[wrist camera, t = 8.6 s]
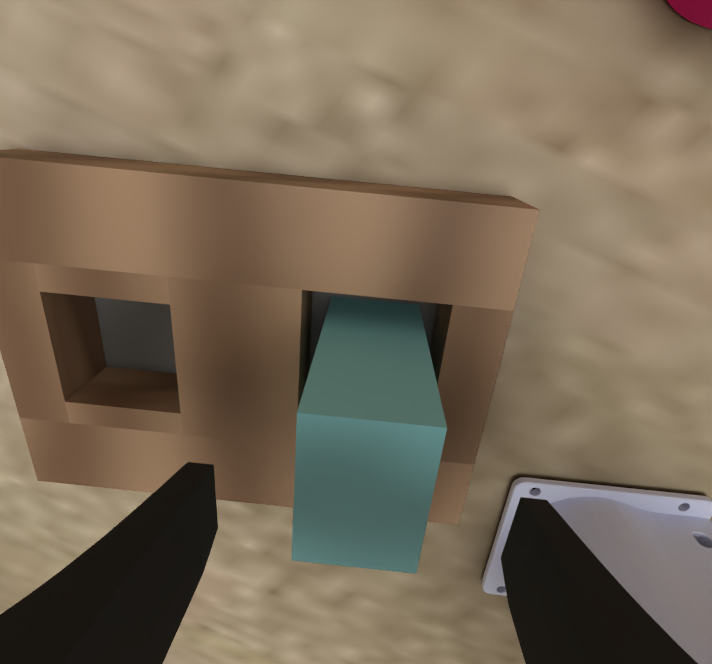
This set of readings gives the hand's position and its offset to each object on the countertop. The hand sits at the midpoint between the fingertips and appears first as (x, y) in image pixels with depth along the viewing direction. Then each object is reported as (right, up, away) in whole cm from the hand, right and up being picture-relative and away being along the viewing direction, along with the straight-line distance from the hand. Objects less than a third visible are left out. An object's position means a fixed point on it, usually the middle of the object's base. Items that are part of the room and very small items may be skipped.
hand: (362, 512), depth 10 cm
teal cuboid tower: (0, +3, +8) cm, 9 cm away
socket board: (-4, +4, +8) cm, 10 cm away
